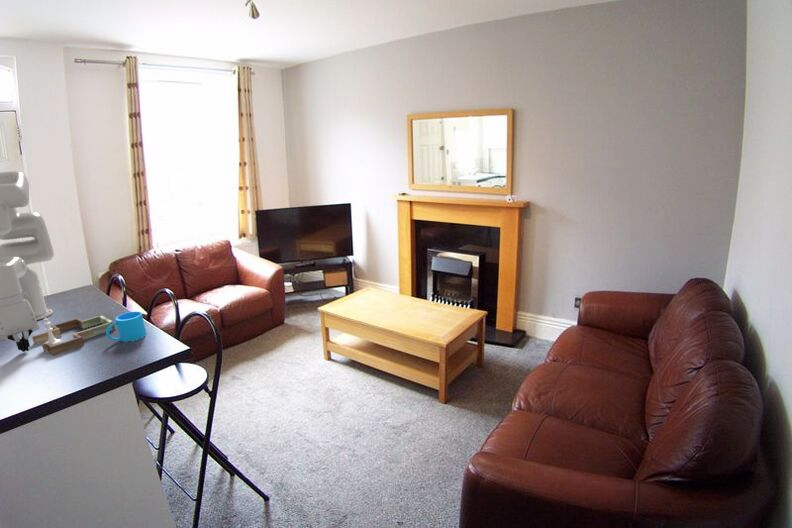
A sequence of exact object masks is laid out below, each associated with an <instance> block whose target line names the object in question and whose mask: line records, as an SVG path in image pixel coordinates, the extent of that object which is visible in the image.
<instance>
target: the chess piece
mask: <svg viewBox="0 0 792 528" xmlns="http://www.w3.org/2000/svg"><path fill="white" fill-rule="evenodd" d="M49 320H50V319H48V318H47V317H45V318H43V321H44V323H43V325H44V327H45V329H44V332H47V331H48V337H49V340H48V341H46V342H50V343H51V344H52V345H57V344H60V343H63V342H62V339H60V338H54V336H53V334H52V332H51V330H52V329H53V328H51V326H52V325H51V324H52V323H51V321H49Z"/></svg>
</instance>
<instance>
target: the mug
mask: <svg viewBox="0 0 792 528" xmlns="http://www.w3.org/2000/svg"><path fill="white" fill-rule="evenodd" d="M113 322H114V323H112V324H111V325H110V326H109V327H108V328H107V330H106V333H105V335H106V338H108V339H109V340H111V341H121V342H122V341H132V342H134V341H133V340H136V339H139V340H141V339H143V338H145V337H146V336H145V335H147V331H146V327H145V322H144V318H143V313H142V312H141V311H129V312H124V313H122V314H119V315H118V316H115V321H113ZM114 325H115V326H116V328H117V331H118V335H119V337H113V336H112V335H110V332H111V331H110V329H111V328H112V326H114ZM144 336H145V337H144ZM142 337H143V338H142ZM140 338H141V339H140ZM136 341H137V340H136Z"/></svg>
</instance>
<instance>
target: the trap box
mask: <svg viewBox="0 0 792 528" xmlns="http://www.w3.org/2000/svg"><path fill="white" fill-rule="evenodd" d="M114 322H115V321H113V320H111V319H109V318H107V317H106V316H104V315H102V314H100V315H97V316H93V317H91V318H88V319H87V318H86V319H84V320H83V319H82V318H80V317H76V318H72V319H69V320H66V321H63V322H59V323H57V324H53V325H50V328H53V329H52V330H51V332H52V334H53V336H54V338H56V339H58V338H60V337H62V332H64V331H68V330H71V329H74V327H75V328H78V327H79V328H80V329H82V328H83V330H82V331H79V332H74V333H72V339H69V340H66V341H63V342H61V343H60V344H57V345H52V344H51V343H50V342H47V341H48V340H49V337H48V331H43V332H41V333H38V334H34V335H32V336H31V338H32V342H33V344H34V345H38V344H41V346H42V350H43V353H44V354H46V353H47V352H48V353H50V355H52V356H57V355H59V354H62V353H64V352H65V353H66V352H67V351H70V350H73V349H77V348H79V347H82V346H85V344H84V340H87V339H91V338H93V336H94V337H96V335H97V336H100V335H103V334H106V333H105V332H106V330H107V328H108V327H109V326H110V325H111V324H112V323H114ZM100 323H102V324H100ZM97 324H98V325H97ZM93 325H95V327H94V326H93ZM77 326H78V327H77ZM91 326H92V327H91ZM88 327H89V328H88ZM85 328H86V329H85ZM114 329H115V330H116V324H115V325H114V326H112V328H111V329H110V330H112V331H115V330H114ZM102 333H103V334H102ZM99 334H100V335H99Z"/></svg>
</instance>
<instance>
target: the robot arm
mask: <svg viewBox="0 0 792 528" xmlns="http://www.w3.org/2000/svg"><path fill="white" fill-rule="evenodd" d="M29 203H30V184H29V180H28V177H27V176H26V174H24V173H23V172H22V171H21V172H20V171H0V240H1V241H3V240H4V241H8V240H16V241H9V242H4V243H1V244H0V341H6V340H10V341H13V342H15V344H16V347H17V349H18V351H21V352H22V353H25V352H28V351H30V349H29V348H30V347H31V345H30V341H29V338H30V336H31V334H32V333H34V332H35V331H37V330H40V326H39V325H38V321H39V320H42V319H45V318H47V317H49V316H51V315H52V314H53V313H54V311H53V309H51V308H47V305H46V301H45V297H44V294H43V290H42V286H41V283H40V280H39V277H38V274H37V272H36V271H35V270H34V269H32V268H31V267H29V266H28V265H30V264H38V263H44V262H48V261H51V260H52V259H53V258H54V254H55V253H54V249H53V245H52V241H51V238H50V235H49V233H48V228H47V225H46V222H45V219H44V218H43V216H42V215H41V214H40V213H38V212H34V211H31V212H21V213H19V212H17V208H24V207H27V206H28V205H29ZM25 238H32V239H25ZM17 239H18V240H17ZM19 239H25V240H19ZM18 333H19V334H20V333H21V338H20V337H19V335H18Z"/></svg>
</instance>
